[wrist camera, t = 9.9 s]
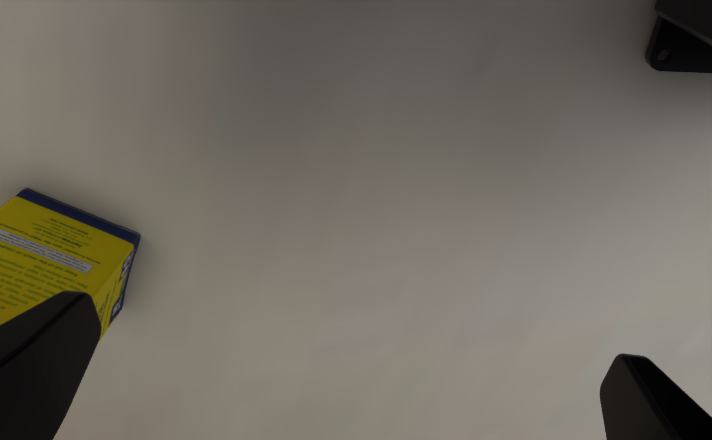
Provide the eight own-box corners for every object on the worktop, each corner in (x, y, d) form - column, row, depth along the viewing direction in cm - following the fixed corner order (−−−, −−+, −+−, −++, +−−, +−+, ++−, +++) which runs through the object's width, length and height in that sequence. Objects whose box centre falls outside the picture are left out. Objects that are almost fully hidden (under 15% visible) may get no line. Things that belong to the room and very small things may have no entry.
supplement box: (125, 308, 28) (-13, 509, 19) (18, 267, 27) (-180, 459, 18) (145, 233, 25) (-11, 434, 16) (24, 184, 24) (-215, 368, 15)
